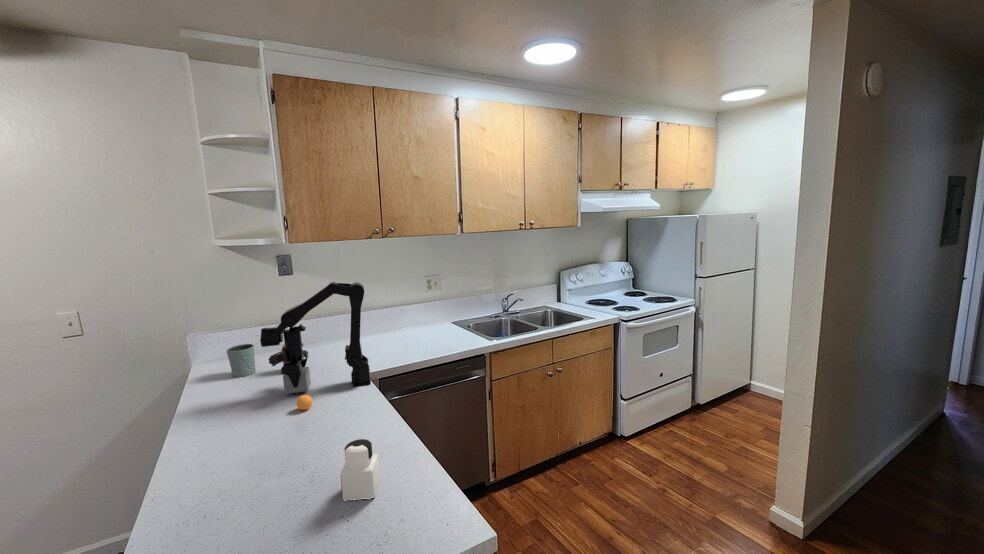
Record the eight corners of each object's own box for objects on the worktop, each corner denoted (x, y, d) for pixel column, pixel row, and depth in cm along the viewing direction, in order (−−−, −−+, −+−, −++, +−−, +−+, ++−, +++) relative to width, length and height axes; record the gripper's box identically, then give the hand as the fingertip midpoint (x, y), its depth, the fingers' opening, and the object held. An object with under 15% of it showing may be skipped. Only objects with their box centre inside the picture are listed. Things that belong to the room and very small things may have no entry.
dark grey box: (310, 383, 163) (309, 366, 162) (307, 391, 156) (305, 373, 155) (289, 386, 161) (287, 369, 160) (284, 393, 154) (282, 376, 153)
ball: (314, 405, 147) (312, 391, 146) (311, 411, 142) (310, 397, 141) (298, 407, 146) (297, 393, 145) (295, 413, 141) (294, 399, 140)
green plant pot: (262, 371, 183) (259, 345, 181) (240, 380, 173) (236, 352, 172) (247, 368, 187) (243, 342, 185) (224, 377, 178) (220, 349, 176)
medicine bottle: (350, 483, 102) (346, 436, 101) (380, 480, 103) (376, 434, 101) (342, 502, 95) (337, 453, 94) (374, 499, 96) (370, 450, 94)
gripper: (275, 338, 163) (280, 377, 165) (262, 353, 145) (267, 396, 147) (306, 335, 166) (310, 373, 168) (297, 349, 148) (302, 391, 150)
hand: (297, 383), depth 158 cm, fingers closed on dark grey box, 8 cm apart
